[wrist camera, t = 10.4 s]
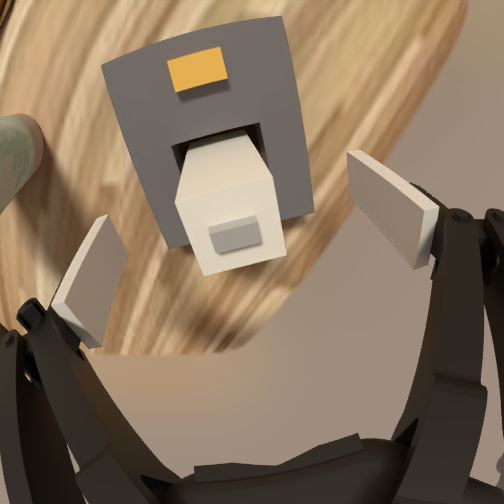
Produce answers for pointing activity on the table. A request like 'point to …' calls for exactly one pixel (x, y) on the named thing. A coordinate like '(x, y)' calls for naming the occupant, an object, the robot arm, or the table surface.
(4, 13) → the toy sandwich meal
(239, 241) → the block
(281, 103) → the grey charger dock
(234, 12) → the table surface
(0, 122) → the coffee cup
